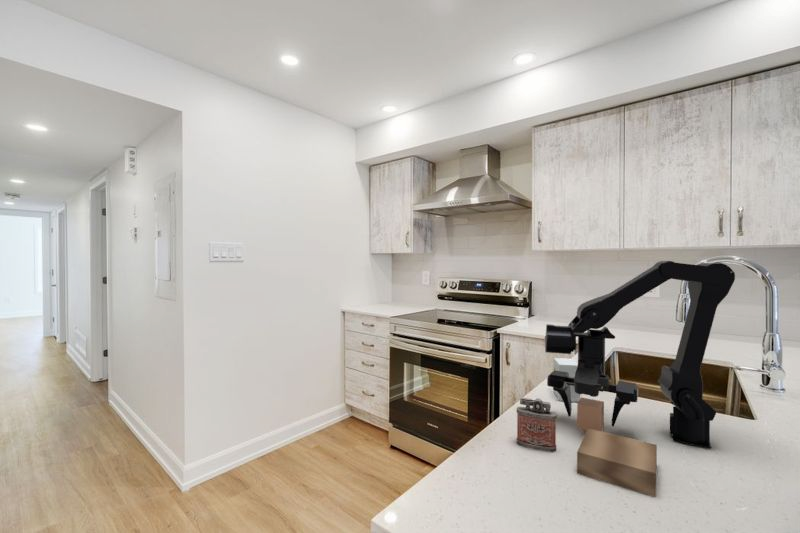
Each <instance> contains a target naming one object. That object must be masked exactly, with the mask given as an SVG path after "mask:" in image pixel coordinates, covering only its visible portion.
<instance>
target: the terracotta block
mask: <svg viewBox="0 0 800 533" xmlns="http://www.w3.org/2000/svg"><path fill="white" fill-rule="evenodd" d="M576 403H577V405H576V406H577V408H576V409H577V410H576V411H577V412H576V419H577V420H576V422H577V423H576V425H577V427H576V428H577V430H582V431H587V429H593V430H597V431H601V432H603V430H604V427H605V401H603V400H596V399H591V398H586V397H583V396H582V397H581V396H580V400H579V402H576Z"/></svg>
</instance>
